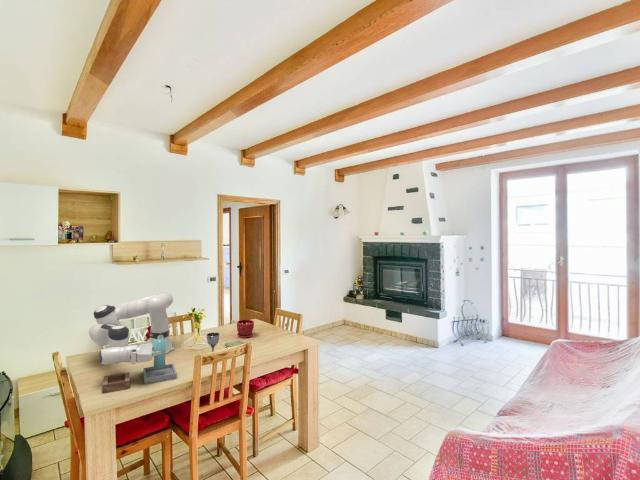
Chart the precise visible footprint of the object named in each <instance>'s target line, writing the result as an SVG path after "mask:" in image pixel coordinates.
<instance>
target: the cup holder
mask: <svg viewBox="0 0 640 480" xmlns="http://www.w3.org/2000/svg"><path fill="white" fill-rule="evenodd" d="M130 378H131V377H130V372H124V373H123V372H122V373H116V374H112V375H111V374H110V375H105V376H103V380H102V385H101V393H102V394H106V393H107V394H108V393H111V392H117V391H123V390H129V389H130V387H131V386H130V383H131V382H130Z"/></svg>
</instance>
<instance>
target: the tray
mask: <svg viewBox="0 0 640 480" xmlns="http://www.w3.org/2000/svg"><path fill="white" fill-rule="evenodd" d="M142 372H143V374H142V375H143V383H144V385H149V384H154V383H160V382H164V381H165V382H166V381H172V380H176V378H178V376H177V373H178V372H177V370H176V367H175V364H174V363H167V364H166V363H165V367H162V368H154V365H153V366H147V367H143V371H142ZM171 379H172V380H171Z"/></svg>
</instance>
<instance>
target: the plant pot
mask: <svg viewBox="0 0 640 480" xmlns="http://www.w3.org/2000/svg"><path fill="white" fill-rule="evenodd" d="M254 325H255V321H254V320H252V319H240V320H237V322H236V330H237V337H238V338H240V337H241V338H242V339H248V338H247V337H249V338H251V337H252V336H253V331H254V328H255V326H254Z"/></svg>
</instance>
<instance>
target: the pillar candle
mask: <svg viewBox="0 0 640 480" xmlns="http://www.w3.org/2000/svg"><path fill="white" fill-rule="evenodd" d="M160 350H161V354H160V355H156V356H153V366H154V368H162V367H165V365H166V354H167V353H166V339H165V338H159V339H155V340H154V352H156V351H160Z"/></svg>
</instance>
